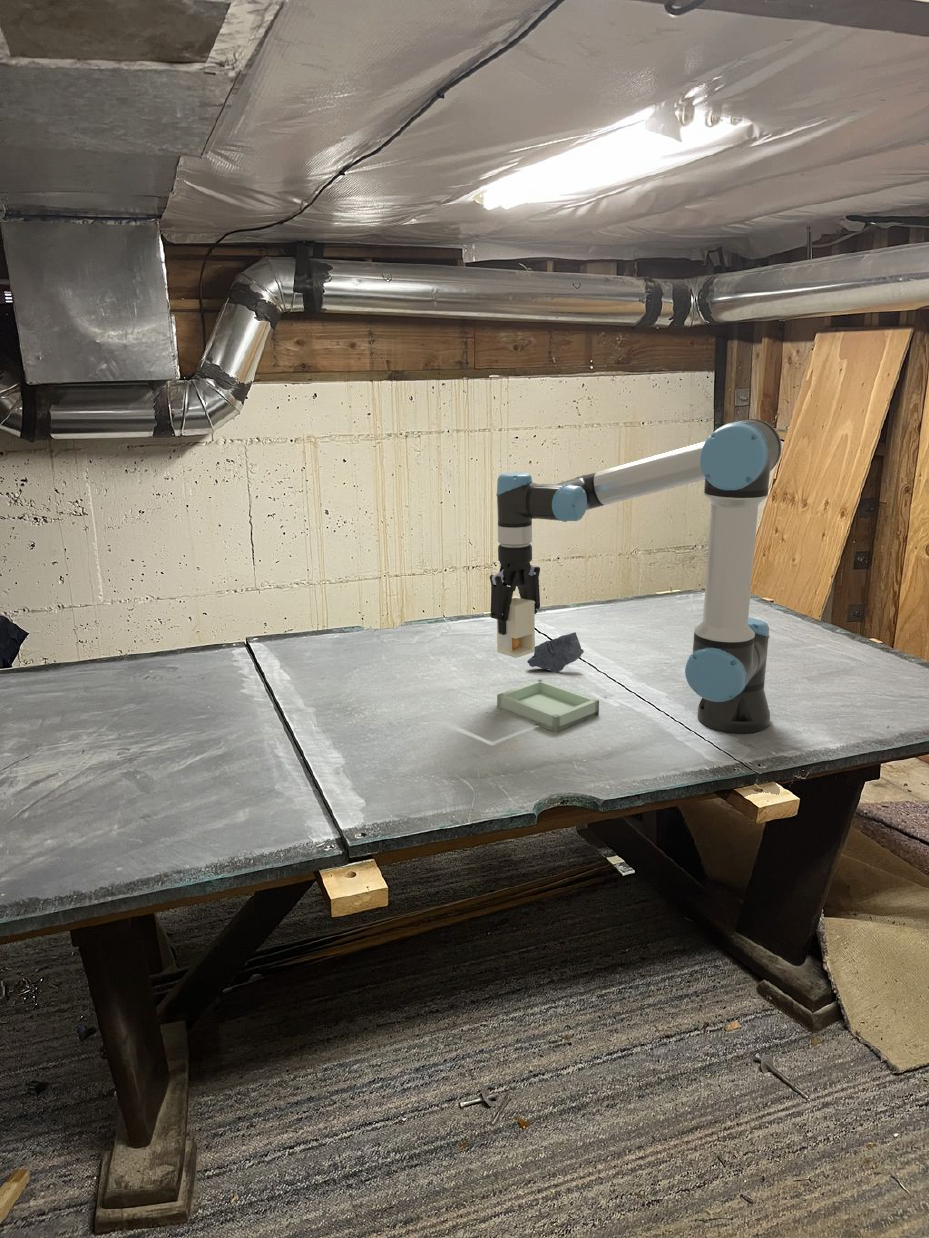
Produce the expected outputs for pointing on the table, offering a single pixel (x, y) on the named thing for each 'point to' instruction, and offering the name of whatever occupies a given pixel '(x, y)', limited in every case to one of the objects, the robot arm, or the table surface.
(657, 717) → the table surface
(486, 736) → the table surface
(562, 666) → the stone
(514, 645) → the ball
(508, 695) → the tray
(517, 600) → the hollow box
